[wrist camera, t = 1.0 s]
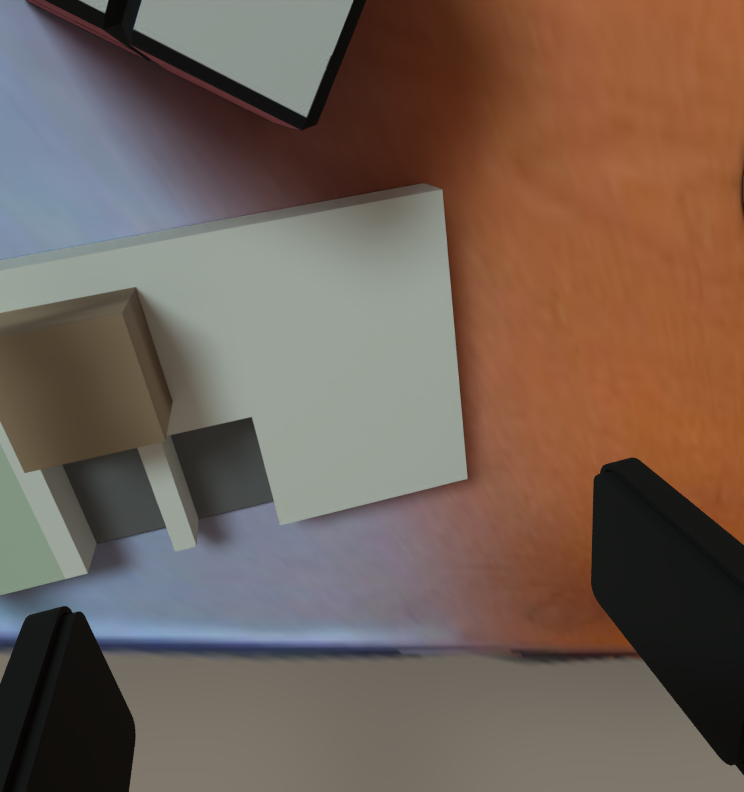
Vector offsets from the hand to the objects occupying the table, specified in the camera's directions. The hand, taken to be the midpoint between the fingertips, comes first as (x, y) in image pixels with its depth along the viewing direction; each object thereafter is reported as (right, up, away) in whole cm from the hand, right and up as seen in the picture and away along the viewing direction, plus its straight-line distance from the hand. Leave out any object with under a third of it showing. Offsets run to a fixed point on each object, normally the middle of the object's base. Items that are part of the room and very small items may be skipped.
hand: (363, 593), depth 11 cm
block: (-11, +5, +13) cm, 18 cm away
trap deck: (-9, +4, +17) cm, 20 cm away
